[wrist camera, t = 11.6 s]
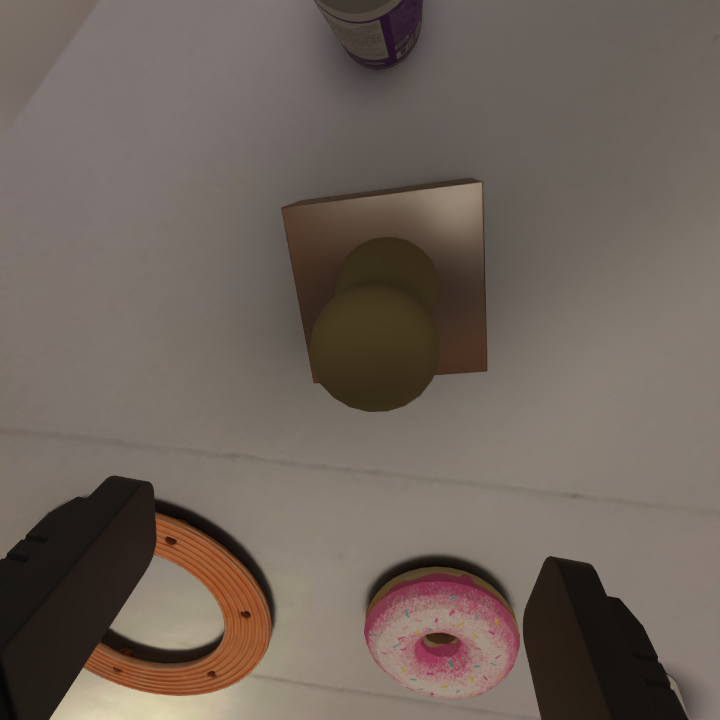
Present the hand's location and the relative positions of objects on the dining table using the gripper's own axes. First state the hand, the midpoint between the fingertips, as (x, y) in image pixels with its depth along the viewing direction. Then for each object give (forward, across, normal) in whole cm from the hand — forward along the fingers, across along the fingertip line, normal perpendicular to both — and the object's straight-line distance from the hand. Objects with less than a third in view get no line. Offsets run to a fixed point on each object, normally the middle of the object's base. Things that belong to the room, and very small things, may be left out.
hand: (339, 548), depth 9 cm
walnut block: (+24, 0, 0) cm, 24 cm away
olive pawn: (+20, 0, 0) cm, 20 cm away
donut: (+24, -9, +30) cm, 40 cm away
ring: (+24, +19, +36) cm, 47 cm away
